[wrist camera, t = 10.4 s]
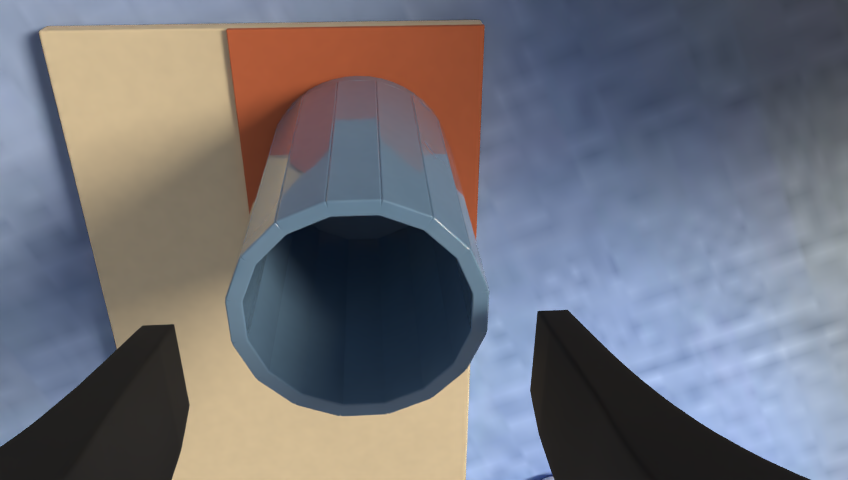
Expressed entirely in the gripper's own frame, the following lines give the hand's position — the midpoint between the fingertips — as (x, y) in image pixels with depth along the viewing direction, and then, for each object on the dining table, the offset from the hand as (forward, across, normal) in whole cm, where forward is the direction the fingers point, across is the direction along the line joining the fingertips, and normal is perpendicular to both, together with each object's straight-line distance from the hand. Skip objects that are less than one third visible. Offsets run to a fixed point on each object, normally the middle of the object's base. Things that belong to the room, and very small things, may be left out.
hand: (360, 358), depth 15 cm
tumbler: (+9, 0, -1) cm, 9 cm away
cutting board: (+9, +2, +6) cm, 11 cm away
